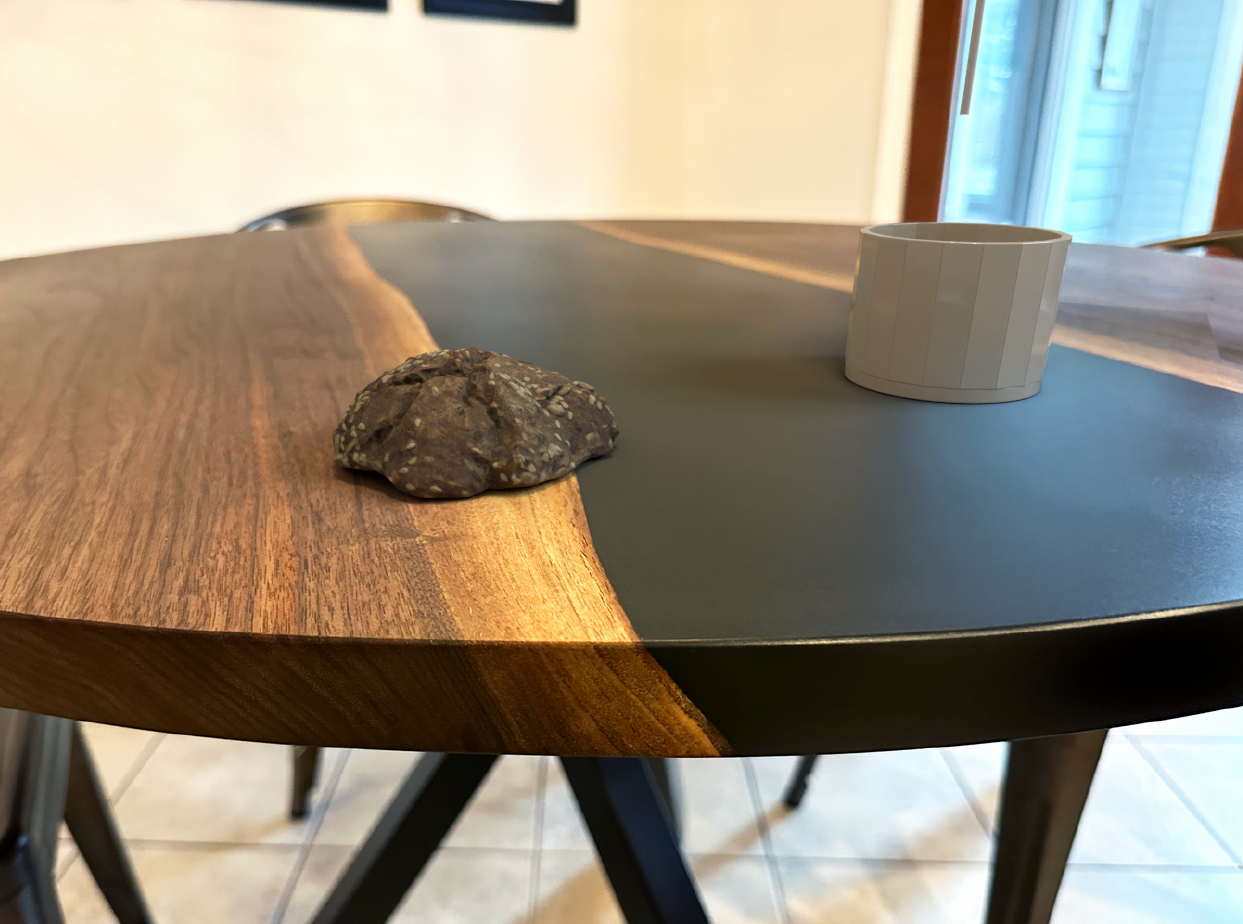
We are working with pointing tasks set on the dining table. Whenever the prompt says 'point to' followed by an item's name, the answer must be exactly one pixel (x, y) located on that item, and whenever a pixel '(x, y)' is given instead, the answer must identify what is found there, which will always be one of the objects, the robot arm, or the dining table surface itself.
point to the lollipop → (972, 57)
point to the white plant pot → (954, 309)
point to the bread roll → (472, 424)
